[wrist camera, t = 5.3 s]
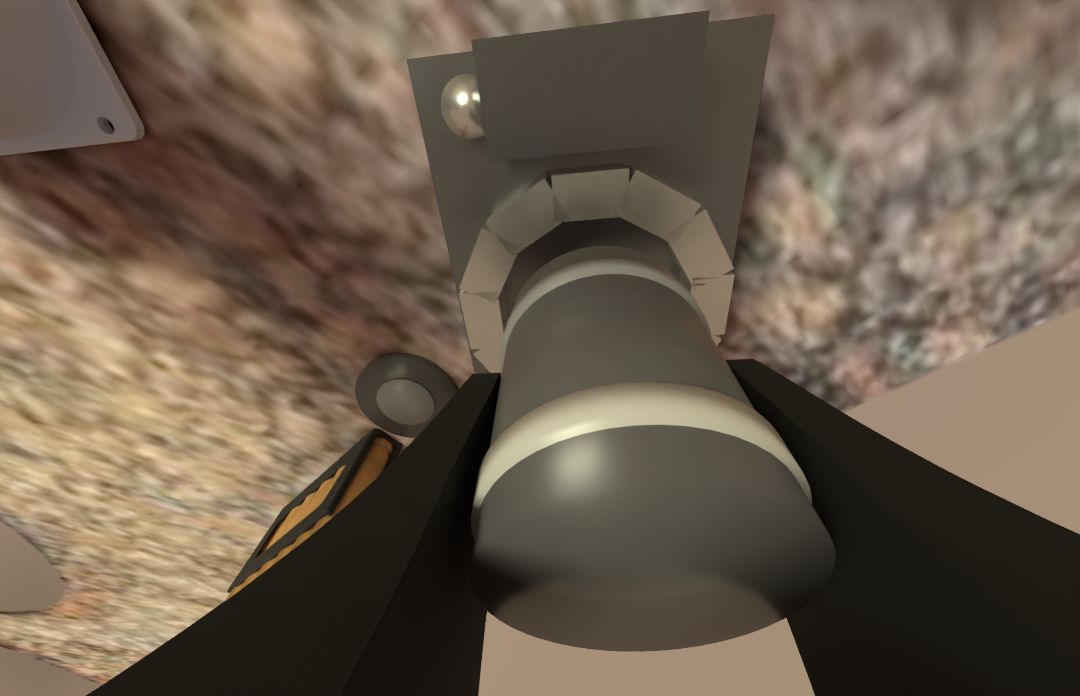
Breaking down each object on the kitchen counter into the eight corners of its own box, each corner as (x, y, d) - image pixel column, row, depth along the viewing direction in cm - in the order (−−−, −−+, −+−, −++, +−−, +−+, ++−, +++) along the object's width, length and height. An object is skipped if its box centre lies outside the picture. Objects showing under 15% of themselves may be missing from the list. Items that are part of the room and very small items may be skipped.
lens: (522, 404, 11) (500, 656, 6) (488, 255, 9) (409, 488, 4) (685, 390, 11) (793, 650, 6) (700, 228, 8) (915, 456, 3)
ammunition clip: (376, 426, 21) (201, 731, 11) (404, 445, 22) (265, 749, 11) (282, 509, 25) (90, 787, 15) (308, 523, 26) (142, 797, 15)
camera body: (500, 407, 20) (486, 480, 16) (437, 69, 13) (382, 51, 9) (683, 398, 19) (715, 473, 15) (727, 34, 12) (811, -3, 8)
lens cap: (379, 429, 21) (372, 442, 21) (348, 352, 19) (338, 363, 18) (468, 425, 21) (465, 438, 20) (449, 346, 18) (443, 357, 18)
